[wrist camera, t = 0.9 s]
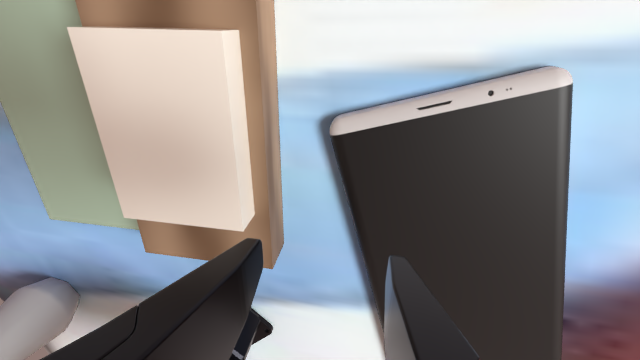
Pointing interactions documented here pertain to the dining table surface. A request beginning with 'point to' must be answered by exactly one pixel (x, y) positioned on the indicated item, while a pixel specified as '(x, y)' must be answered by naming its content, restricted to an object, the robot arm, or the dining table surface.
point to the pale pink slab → (171, 121)
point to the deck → (261, 112)
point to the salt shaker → (35, 317)
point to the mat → (54, 113)
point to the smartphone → (470, 203)
